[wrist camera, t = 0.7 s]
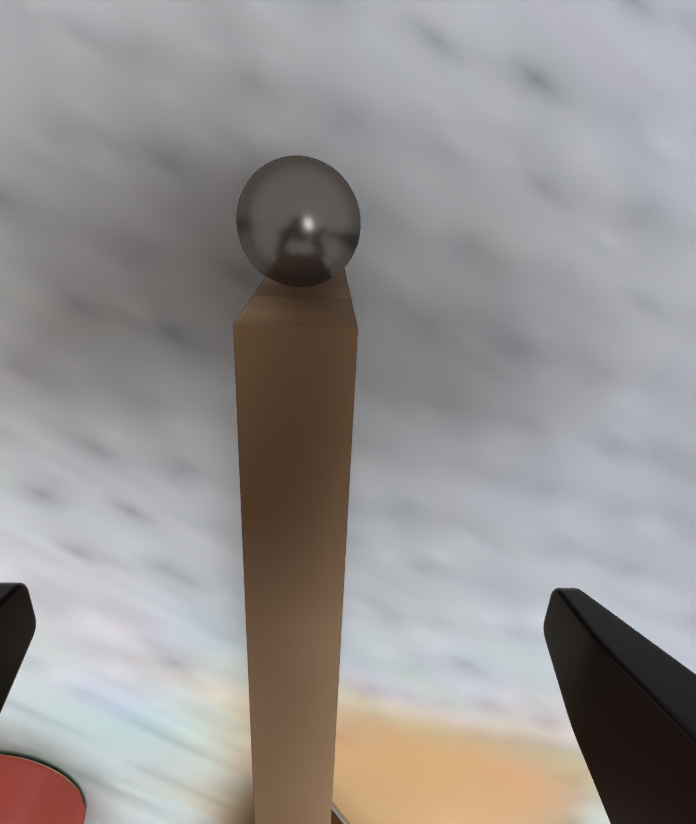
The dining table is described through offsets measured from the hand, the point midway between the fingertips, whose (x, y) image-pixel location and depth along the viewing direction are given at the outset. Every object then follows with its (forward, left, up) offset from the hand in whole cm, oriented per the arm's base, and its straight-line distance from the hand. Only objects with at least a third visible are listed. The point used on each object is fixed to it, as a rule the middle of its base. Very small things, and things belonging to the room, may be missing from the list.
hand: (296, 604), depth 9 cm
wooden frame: (0, +4, -9) cm, 10 cm away
